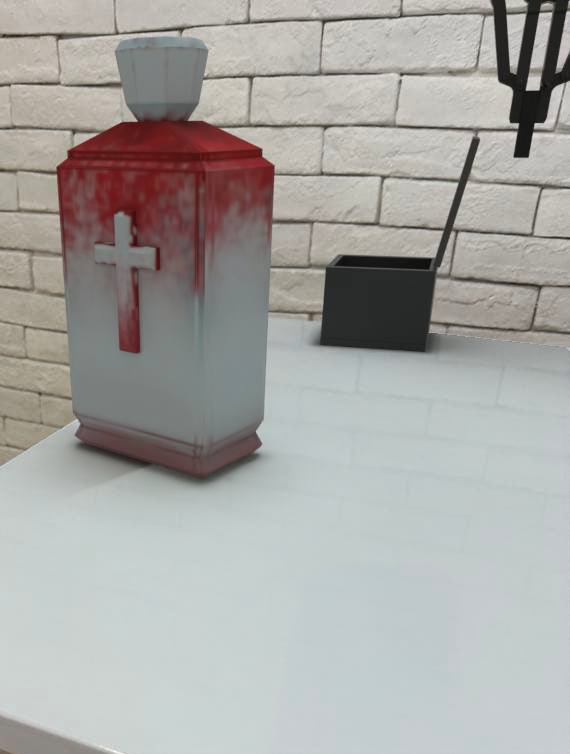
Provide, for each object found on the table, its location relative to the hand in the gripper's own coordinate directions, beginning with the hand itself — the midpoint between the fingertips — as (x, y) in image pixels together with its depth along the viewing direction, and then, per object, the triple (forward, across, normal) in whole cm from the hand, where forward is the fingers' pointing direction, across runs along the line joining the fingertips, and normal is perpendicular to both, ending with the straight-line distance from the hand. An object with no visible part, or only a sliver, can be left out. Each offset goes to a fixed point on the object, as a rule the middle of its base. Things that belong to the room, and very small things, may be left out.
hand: (520, 157), depth 91 cm
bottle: (+21, +26, +46) cm, 57 cm away
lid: (+5, +7, 0) cm, 8 cm away
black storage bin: (+21, +14, 0) cm, 25 cm away
